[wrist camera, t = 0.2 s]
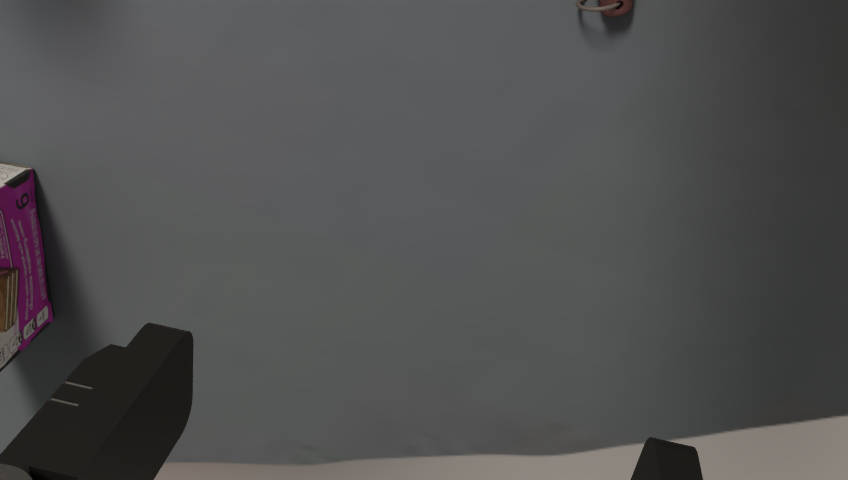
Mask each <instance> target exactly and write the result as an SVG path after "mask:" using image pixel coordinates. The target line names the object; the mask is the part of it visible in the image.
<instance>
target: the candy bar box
mask: <svg viewBox="0 0 848 480" xmlns="http://www.w3.org/2000/svg"><path fill="white" fill-rule="evenodd" d="M52 321H53V314H52V307H51V300H50V294H49V286H48V279H47V272H46V265H45V258H44V250H43V243H42V235H41V229H40V221H39V214H38V206H37V198H36V190H35V183H34V175H33V169H32V168H29V167H26V166H21V165H16V164H6V163H0V372H1V371H2V370H3V369H4V368H5V367H6V366H7V365H8V364H9V363H10V362H11V361H12V360H13V359H14V358H15V357H16V356H17V355H18V354H19V353H20V352H21V351H22V350H23V349H24V348H25V347H26V346H28V344H29V343H30V342H31V341H33V340H34V339H35V338H36V337H37V336H38V335H39V334H40V333H41V332H42V331H43V330H44V329H45V328H46V327H47V326H48V325H49V324H50V323H51V322H52Z"/></svg>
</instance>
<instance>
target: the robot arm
mask: <svg viewBox="0 0 848 480" xmlns="http://www.w3.org/2000/svg"><path fill="white" fill-rule="evenodd" d="M192 394H193V336H192V334H191V332H189V331H184V330H180V329H176V328H171V327H167V326H162V325H158V324H153V323H147V324H146V325H144V326H143V327H142V329H141V330H140V331H139V332H138V333H137V335H136V336H135V337H134V338H133V339H132V341H131V342H130V343H129V344H128V346H127V347H126V348H125V347H121V346H117V345H112V344H111V345H109V346H107V347H105V348H103V349H102V350H100V351H98V352H96V353H95V354H93V355H91V356H89V357H87V358H86V359H84V360H83V361H82V362H81V363H80V365H79V366H78V367H77V368H76V369H75V370H74V371H73V372H72V374H71V375H70V376H69V377H68V378H67V379H66V383H65V384H62V385H61V386H60V387H59V388H58V390H57V391H56V392H55V393H54V394H53V395H52V396H51V400H50V401H47V402H46V403H45V404H44V405H43V407H42V408H41V409H40V410H39V411H38V412H37V413H36V414H35V416H34V417H33V418H32V419H31V420H30V421H29V422H28V424H27V425H26V426H25V427H24V428H23V429H22V430H21V432H20V433H19V434H18V435H17V436H16V437H15V438H14V439H13V441H12V442H11V443H10V444H9V445H8V446H7V447H6V449H5V450H4V451H3V452H2V453H1V454H0V480H154V478H155V477H156V475H157V473H158V472H159V470H160V468H161V467H162V465H163V464H164V462H165V460H166V459H167V457H168V456H169V454H170V452H171V451H172V449H173V447H174V446H175V444H176V443H177V441H178V439H179V438H180V436H181V434H182V433H183V431H184V429H185V426H186V424H187V421H188V418H189V415H190V411H191V406H192ZM631 480H703V478H702V473H701V468H700V463H699V458H698V454H697V451H696V449H695V448H694V447H692V446H687V445H683V444H678V443H674V442H670V441H665V440H661V439H656V438H652V437H650V438H648V440H647V441H646V443H645V445H644V447H643V450H642V452H641V455H640V457H639V460H638V462H637V465H636V468H635V470H634V473H633V475H632V478H631Z"/></svg>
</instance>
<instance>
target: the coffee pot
mask: <svg viewBox="0 0 848 480" xmlns="http://www.w3.org/2000/svg"><path fill="white" fill-rule="evenodd" d="M583 1H585V0H578V1H577V2H576V6H577V7H578V8H579V9H581V10H584V11H601V12H602V13H603V14H604V15H605V16H608V17H617V16H621V15H624V14H626V13H628V12H629V11H630V10H631V8H632V6H633V0H599V4H600V7H587V6H583V5H581V4H580V3H581V2H583Z"/></svg>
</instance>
